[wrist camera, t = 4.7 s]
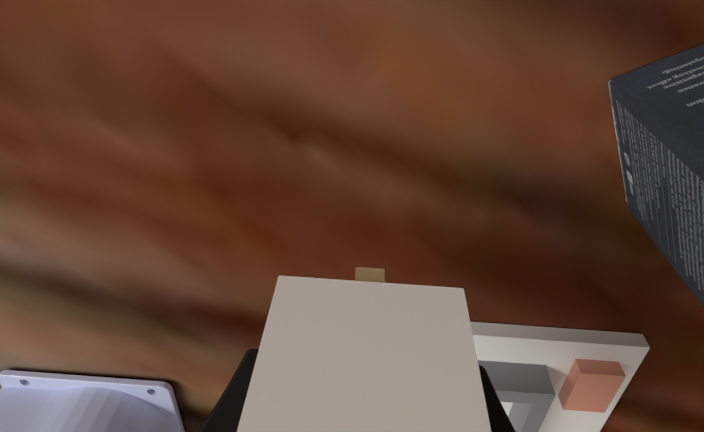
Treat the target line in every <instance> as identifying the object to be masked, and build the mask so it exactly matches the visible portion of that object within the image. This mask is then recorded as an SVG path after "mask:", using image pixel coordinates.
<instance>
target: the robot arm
mask: <svg viewBox="0 0 704 432" xmlns="http://www.w3.org/2000/svg"><path fill="white" fill-rule="evenodd" d="M258 351H259V349H250V350H248V351H247V352H246V353H245V355H244V357H243V359H242V361H241V363H240V365H239V367H238V368H237V370H236V372H235V374H234V376H233V377H232V379H231V381H230V382H229V384H228V386H227V388H226V389H225V391H224V392H223V394H222V396H221V397H220V399H219V401H218V402H217V404H216V405H215V407H214V408H213V410H212V411H211V413H210V414H209V416H208V417H207V419H206V421H205V422H204V424H203V425H202V427H201V428H200V430H199V431H198V432H237V429H238V425H239V422H240V418H241V414H242V410H243V407H244V403H245V399H246V396H247V392H248V388H249V384H250V381H251V377H252V373H253V370H254V366H255V362H256V358H257V355H258ZM479 370H480V376H481V381H482V386H483V391H484V396H485V401H486V407H487V412H488V417H489V422H490V427H491V432H516V431H515V429H514V428H513V426H512V424H511V422H510V420H509V418H508V416H507V414H506V412H505V410H504V408H503V406H502V404H501V402H500V400H499V398H498V396H497V394H496V392H495V389H494V387H493V385H492V383H491V381H490V379H489V376H488V374H487V372H486V369H485V368H484V367H483V366H482V365H479ZM0 384H1V386H2V388H1V389H0V432H185V430H184V427H183V423H182V420H181V416H180V413H179V409H178V405H177V402H176V398H175V395H174V391H173V388H172V386H171V385H170V384H169V383H167V382H163V381H150V380H137V379H123V378H110V377H96V376H83V375H70V374H56V373H43V372H29V371H16V370H4V371H2V372H1V373H0Z"/></svg>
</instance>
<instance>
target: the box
mask: <svg viewBox="0 0 704 432" xmlns="http://www.w3.org/2000/svg"><path fill="white" fill-rule="evenodd" d="M608 84H609V92H610V97H611V104H612V113H613V118H614V125H615V133H616V137H617V142H618V149H619V157H620V162H621V169H622V174H623V181H624V187H625V194H626V202H627V204H628V207H629V209H630V211H631V213H632V214H633V215H634V216H635V218H636V219H637V220H638V222H639V223H640V224H641V226H642V227H643V228H644V230H645V231H646V232H647V233H648V235H649V236H650V238H651V239H652V240H653V241H654V243H655V244H656V246H657V247H658V248H659V250H660V251H661V252H662V253H663V255H664V256H665V257H666V259H667V260H668V262H669V263H670V264H671V265H672V267H673V268H674V269H675V270H676V272H677V273H678V274H679V276H680V277H681V279H682V280H683V281H684V282H685V283H686V285H687V286H688V287H689V289H690V290H691V291H692V293H693V294H694V295H695V297H696V298H697V299H698V300H699V301H700V302H701V304H702V305H703V306H704V44H702V45H699V46H696V47H694V48H691V49H689V50H686V51H684V52H681V53H678V54H675V55H673V56H670V57H667V58H665V59H662V60H660V61H657V62H655V63H652V64H649V65H646V66H643V67H640V68H638V69H635V70H633V71H630V72H627V73H625V74H622V75H620V76H617V77H615V78H612V79H610V80H609V82H608Z"/></svg>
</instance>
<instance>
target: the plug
mask: <svg viewBox="0 0 704 432" xmlns="http://www.w3.org/2000/svg"><path fill="white" fill-rule="evenodd" d="M237 432H491V427H490V422H489V417H488V412H487V407H486V401H485V396H484V391H483V386H482V381H481V376H480V370H479V365H478V360H477V355H476V350H475V345H474V340H473V334H472V329H471V324H470V319H469V314H468V309H467V303H466V298H465V293H464V288H452V287H437V286H423V285H408V284H394V283H385V269H376V268H362V267H356V273H355V281H351V280H336V279H322V278H307V277H293V276H279V277H278V280H277V284H276V288H275V291H274V295H273V299H272V303H271V306H270V310H269V314H268V317H267V321H266V325H265V329H264V332H263V336H262V340H261V344H260V347H259V351H258V355H257V358H256V362H255V366H254V370H253V373H252V377H251V381H250V384H249V388H248V392H247V396H246V399H245V403H244V407H243V410H242V414H241V418H240V422H239V425H238V429H237Z"/></svg>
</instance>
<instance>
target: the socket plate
mask: <svg viewBox="0 0 704 432" xmlns="http://www.w3.org/2000/svg"><path fill="white" fill-rule="evenodd" d="M470 324H471V329H472V334H473V340H474V345H475V350H476V355H477V360H478V365H482V366H483V367H484V368H485V369H486V372H487V374H488V376H489V379H490V381H491V383H492V385H493V387H494V389H495V392H496V394H497V396H498V398H499V400H500V402H501V404H502V406H503V408H504V410H505V412H506V414H507V416H508V418H509V420H510V422H511V424H512V426H513V428H514V429H515V431H516V432H600V430H601V429H602V427H603V425H604V424H605V422H606V420H607V419H608V417H609V415H610V414H611V412H612V410H613V409H614V407H615V405H616V404H617V402H618V400H619V399H620V397H621V395H622V394H623V392H624V390H625V389H626V387H627V385H628V384H629V382H630V380H631V379H632V377H633V375H634V374H635V372H636V370H637V369H638V367H639V365H640V364H641V362H642V360H643V359H644V357H645V355H646V354H647V352H648V350H649V349H650V346H649V345H648V343H647V341H646V339H645V337H644V336H643V334H638V333H624V332H610V331H596V330H581V329H567V328H553V327H539V326H525V325H511V324H497V323H482V322H470Z"/></svg>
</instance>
